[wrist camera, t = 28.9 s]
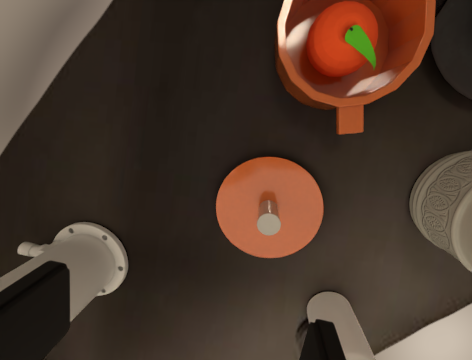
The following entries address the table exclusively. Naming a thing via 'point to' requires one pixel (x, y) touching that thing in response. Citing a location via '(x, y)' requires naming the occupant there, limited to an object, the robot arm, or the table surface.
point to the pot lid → (269, 207)
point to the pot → (365, 78)
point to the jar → (446, 205)
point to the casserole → (454, 44)
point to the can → (341, 323)
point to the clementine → (342, 39)
